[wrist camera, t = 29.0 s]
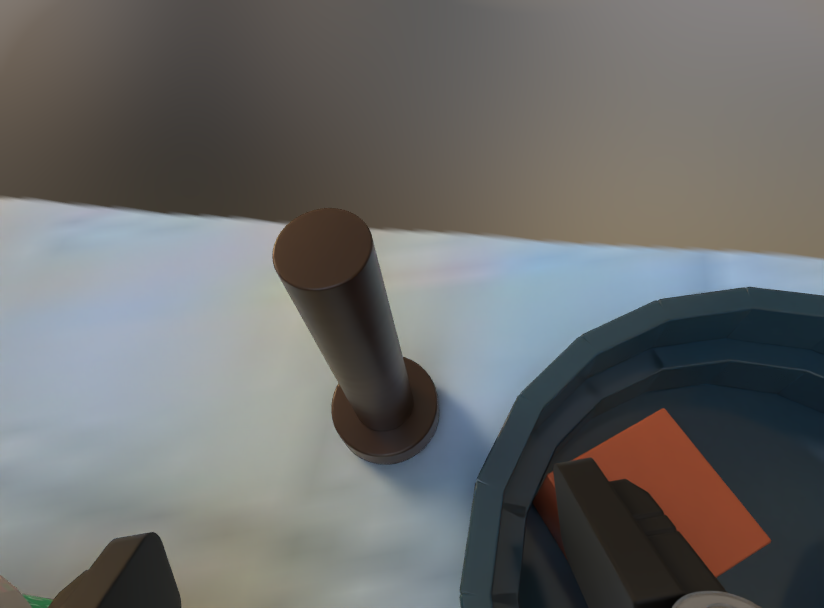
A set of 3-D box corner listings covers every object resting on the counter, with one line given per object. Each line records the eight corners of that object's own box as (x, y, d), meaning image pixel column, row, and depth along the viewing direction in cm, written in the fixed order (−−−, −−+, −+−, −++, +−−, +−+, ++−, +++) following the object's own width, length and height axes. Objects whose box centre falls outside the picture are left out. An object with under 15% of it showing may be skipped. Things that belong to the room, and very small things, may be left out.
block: (531, 502, 18) (545, 474, 15) (628, 445, 19) (664, 406, 15) (605, 624, 16) (642, 625, 13) (711, 557, 17) (773, 540, 14)
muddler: (318, 434, 21) (192, 283, 11) (371, 350, 23) (299, 157, 13) (407, 484, 20) (350, 361, 10) (456, 391, 21) (447, 210, 12)
